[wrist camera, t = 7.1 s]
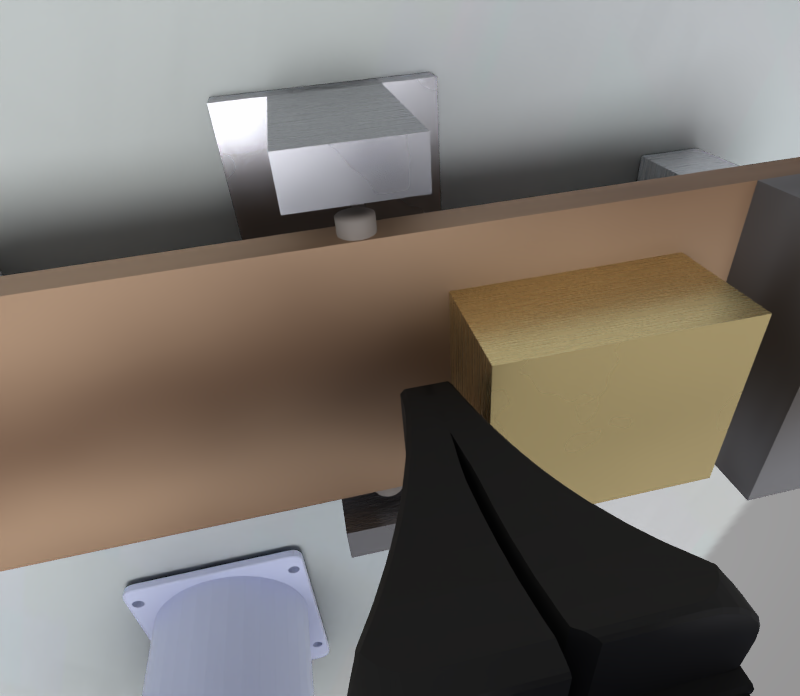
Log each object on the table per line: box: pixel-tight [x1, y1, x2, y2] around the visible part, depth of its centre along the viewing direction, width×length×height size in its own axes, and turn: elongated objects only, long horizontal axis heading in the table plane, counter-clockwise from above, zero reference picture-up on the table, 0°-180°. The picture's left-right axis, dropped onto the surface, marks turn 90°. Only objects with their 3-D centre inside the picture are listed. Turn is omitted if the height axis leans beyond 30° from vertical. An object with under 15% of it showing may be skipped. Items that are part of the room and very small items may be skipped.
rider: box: [449, 252, 772, 504], centre depth 14 cm, size 5×6×3 cm
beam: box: [0, 157, 800, 571], centre depth 13 cm, size 9×24×4 cm, turn 94°
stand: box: [0, 72, 739, 557], centre depth 16 cm, size 12×24×6 cm, turn 94°
